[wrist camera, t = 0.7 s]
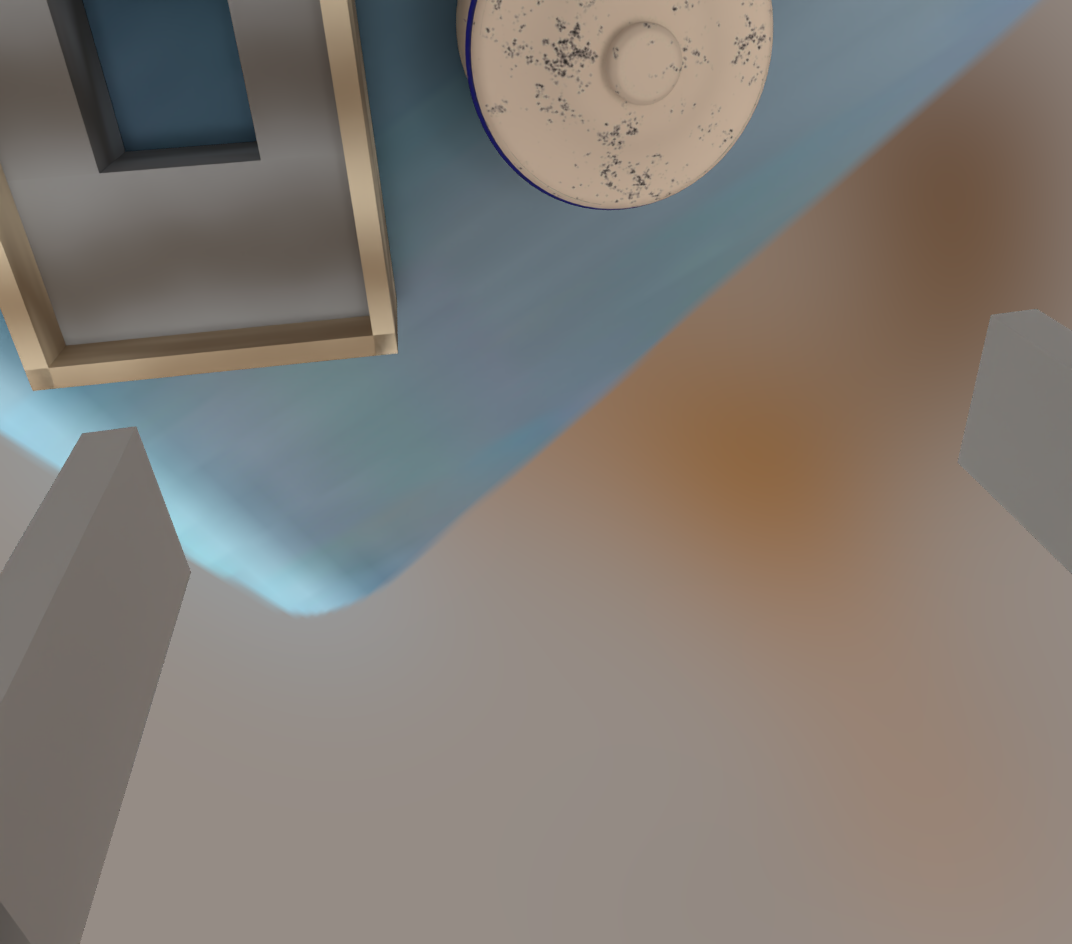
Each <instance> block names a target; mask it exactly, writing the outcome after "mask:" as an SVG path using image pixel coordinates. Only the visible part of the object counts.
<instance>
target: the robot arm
mask: <svg viewBox="0 0 1072 944" xmlns="http://www.w3.org/2000/svg"><path fill="white" fill-rule="evenodd" d="M958 463H959V464H960V465H961V466H962V467H963V468H964V469H965V470H966V471H967V472H968V473H969V474H970V475H971V476H972V477H973V478H974V479H975V480H976V481H977V482H978V483H979V484H980V485H981V486H982V487H984V489H985V490H987V492H988V493H989V494H990V495H991V496H992V497H994V498H995V500H997V501H998V502H999V503H1000V504H1001V505H1002V506H1003V507H1004V508H1005V509H1006V510H1007V511H1008V512H1009V513H1010V514H1011V515H1012V516H1013V517H1014V518H1015V519H1016V520H1017V521H1018V522H1019V523H1020V524H1021V525H1022V526H1023V527H1024V528H1025V529H1026V530H1027V531H1028V532H1029V533H1030V534H1031V535H1032V536H1034V538H1035V539H1036V540H1037V541H1038V542H1039V543H1040V544H1042V546H1043V547H1044V548H1046V549H1047V550H1048V551H1049V552H1050V553H1051V554H1052V555H1053V556H1054V557H1055V558H1056V559H1057V560H1058V561H1059V562H1060V563H1061V564H1062V565H1063V566H1064V567H1065V568H1066V569H1067V570H1068V571H1069V572H1070V573H1071V574H1072V330H1070V329H1068V328H1067V327H1065V326H1063V325H1062V324H1060V323H1059V322H1057V321H1055V320H1054V319H1052V318H1051V317H1049V316H1047V315H1046V314H1044V313H1043V312H1041V311H1039V310H1038V309H1033V310H1025V311H1018V312H1010V313H1002V314H995V315H991V317H990V321H989V326H988V330H987V334H986V339H985V343H984V348H983V353H982V357H981V361H980V365H979V370H978V374H977V379H976V383H975V388H974V392H973V396H972V401H971V405H970V410H969V415H968V419H967V423H966V428H965V432H964V437H963V441H962V445H961V450H960V454H959V458H958ZM190 574H191V571H190V568H189V566H188V563H187V560H186V558H185V555H184V552H183V550H182V547H181V544H180V542H179V539H178V536H177V534H176V531H175V528H174V526H173V523H172V520H171V518H170V515H169V512H168V510H167V507H166V504H165V502H164V499H163V496H162V494H161V491H160V488H159V486H158V483H157V480H156V478H155V475H154V472H153V470H152V467H151V465H150V462H149V459H148V457H147V454H146V451H145V449H144V446H143V443H142V441H141V438H140V435H139V433H138V430H137V427H128V428H121V429H113V430H105V431H98V432H90V433H82V435H81V436H80V438H79V440H78V442H77V443H76V445H75V447H74V448H73V450H72V452H71V454H70V455H69V457H68V459H67V460H66V462H65V464H64V466H63V467H62V469H61V471H60V472H59V474H58V476H57V478H56V479H55V481H54V483H53V484H52V486H51V488H50V490H49V491H48V493H47V495H46V497H45V498H44V500H43V502H42V503H41V505H40V507H39V508H38V510H37V512H36V514H35V515H34V517H33V519H32V520H31V522H30V524H29V526H28V527H27V529H26V531H25V532H24V534H23V536H22V537H21V539H20V541H19V543H18V544H17V546H16V548H15V549H14V551H13V553H12V555H11V556H10V558H9V560H8V561H7V563H6V565H5V567H4V569H3V570H2V572H1V573H0V944H80V941H81V938H82V934H83V931H84V928H85V925H86V921H87V918H88V915H89V911H90V908H91V905H92V901H93V898H94V894H95V891H96V888H97V884H98V881H99V878H100V875H101V871H102V868H103V864H104V861H105V858H106V854H107V851H108V848H109V844H110V841H111V837H112V834H113V831H114V828H115V824H116V821H117V818H118V814H119V811H120V807H121V804H122V801H123V798H124V794H125V791H126V788H127V784H128V781H129V778H130V774H131V771H132V768H133V764H134V761H135V758H136V754H137V751H138V748H139V744H140V741H141V738H142V734H143V731H144V728H145V724H146V721H147V717H148V714H149V711H150V707H151V704H152V701H153V697H154V694H155V691H156V687H157V684H158V681H159V677H160V674H161V671H162V667H163V664H164V660H165V657H166V654H167V650H168V647H169V644H170V641H171V637H172V634H173V631H174V627H175V624H176V620H177V617H178V614H179V610H180V607H181V604H182V601H183V597H184V594H185V591H186V587H187V583H188V581H189V577H190Z"/></svg>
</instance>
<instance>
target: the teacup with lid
mask: <svg viewBox="0 0 1072 944" xmlns="http://www.w3.org/2000/svg"><path fill="white" fill-rule="evenodd" d="M456 33H457V43H458V50H459V54H460V58H461V62H462V65H463V69H464V72H465V74H466V77H467V79H468V83H469V88H470V92H471V96H472V100H473V103H474V106H475V109H476V112H477V115H478V117H479V119H480V121H481V124H482V126H483V128H484V130H485V132H486V134H487V136H488V137H489V139H490V141H491V143H492V144H493V145H494V147H495V148H496V150H497V151H498V153H499V154H500V155H501V157H502V158H503V159H504V160H505V161H506V163H507V164H508V165H509V166H510V167H511V168H512V169H513V170H514V171H515V172H516V173H517V174H518V175H519V176H520V177H522V178H523V179H524V180H525V181H527V182H528V183H529V184H531V185H532V186H534V187H535V188H537V189H538V190H540V191H541V192H543V193H545V194H547V195H549V196H551V197H553V198H555V199H557V200H560V201H563V202H565V203H568V204H571V205H575V206H579V207H584V208H590V209H599V210H620V209H628V208H635V207H640V206H644V205H648V204H651V203H654V202H657V201H659V200H662V199H665V198H667V197H669V196H671V195H674V194H676V193H678V192H680V191H681V190H683V189H685V188H686V187H688V186H690V185H691V184H693V183H694V182H696V181H697V180H698V179H700V178H701V177H703V176H704V175H705V174H706V173H707V172H708V171H710V170H711V169H712V168H713V167H714V166H715V165H716V164H717V163H718V162H719V161H720V160H721V159H722V158H723V157H724V156H725V155H726V154H727V152H728V151H729V150H730V149H731V148H732V146H733V145H734V144H735V142H736V141H737V139H738V138H739V137H740V135H741V134H742V132H743V131H744V129H745V127H746V125H747V124H748V122H749V120H750V119H751V117H752V114H753V112H754V110H755V108H756V106H757V104H758V101H759V99H760V96H761V93H762V91H763V88H764V84H765V81H766V77H767V74H768V69H769V64H770V59H771V52H772V43H773V12H772V3H771V0H458V3H457V11H456Z"/></svg>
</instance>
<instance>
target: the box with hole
mask: <svg viewBox="0 0 1072 944" xmlns="http://www.w3.org/2000/svg"><path fill="white" fill-rule="evenodd" d="M228 4H229V9H230V14H231V19H232V23H233V28H234V33H235V38H236V43H237V48H238V52H239V57H240V62H241V67H242V72H243V76H244V81H245V86H246V91H247V96H248V100H249V105H250V110H251V115H252V120H253V125H254V129H255V134H256V139H257V141H255V142H242V143H230V144H217V145H204V146H192V147H179V148H166V149H154V150H141V151H129V152H125V149H124V145H123V142H122V138H121V135H120V131H119V128H118V124H117V121H116V117H115V114H114V110H113V107H112V103H111V100H110V96H109V93H108V89H107V86H106V82H105V79H104V75H103V72H102V68H101V65H100V61H99V58H98V54H97V51H96V47H95V44H94V40H93V37H92V33H91V30H90V26H89V23H88V19H87V16H86V12H85V9H84V5H83V2H82V0H0V308H1V311H2V314H3V316H4V319H5V321H6V324H7V326H8V329H9V331H10V334H11V336H12V339H13V342H14V344H15V347H16V349H17V352H18V354H19V357H20V359H21V362H22V364H23V367H24V369H25V372H26V375H27V377H28V380H29V382H30V385H31V387H32V390H33V391H35V390H45V389H55V388H65V387H74V386H84V385H94V384H104V383H113V382H123V381H133V380H142V379H152V378H162V377H172V376H181V375H191V374H201V373H211V372H220V371H230V370H240V369H250V368H259V367H269V366H279V365H289V364H298V363H308V362H318V361H328V360H337V359H347V358H357V357H366V356H376V355H386V354H396V353H398V334H397V298H396V291H395V284H394V276H393V269H392V262H391V255H390V248H389V241H388V234H387V226H386V219H385V212H384V205H383V198H382V191H381V184H380V177H379V169H378V162H377V155H376V148H375V141H374V134H373V127H372V119H371V112H370V105H369V98H368V91H367V84H366V77H365V69H364V62H363V55H362V48H361V41H360V34H359V27H358V19H357V12H356V5H355V0H228Z"/></svg>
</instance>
